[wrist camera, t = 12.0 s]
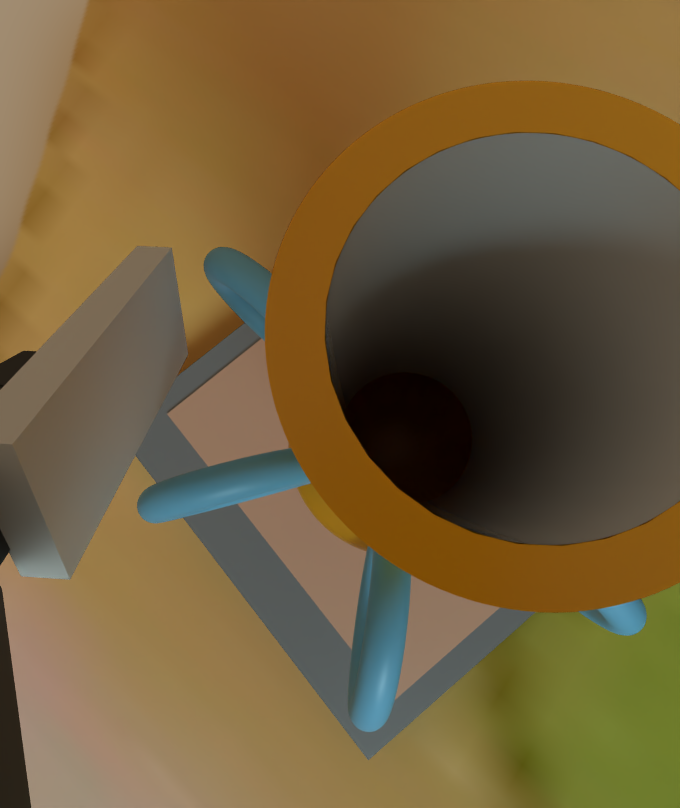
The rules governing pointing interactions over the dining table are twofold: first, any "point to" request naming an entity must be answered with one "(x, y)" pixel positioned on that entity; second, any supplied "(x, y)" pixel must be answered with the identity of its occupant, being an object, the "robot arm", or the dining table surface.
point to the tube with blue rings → (475, 362)
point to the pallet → (303, 547)
